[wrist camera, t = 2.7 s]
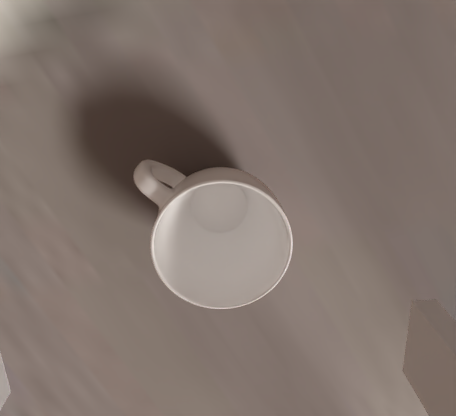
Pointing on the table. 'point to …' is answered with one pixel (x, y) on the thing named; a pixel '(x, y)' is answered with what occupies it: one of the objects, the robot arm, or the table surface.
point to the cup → (215, 234)
